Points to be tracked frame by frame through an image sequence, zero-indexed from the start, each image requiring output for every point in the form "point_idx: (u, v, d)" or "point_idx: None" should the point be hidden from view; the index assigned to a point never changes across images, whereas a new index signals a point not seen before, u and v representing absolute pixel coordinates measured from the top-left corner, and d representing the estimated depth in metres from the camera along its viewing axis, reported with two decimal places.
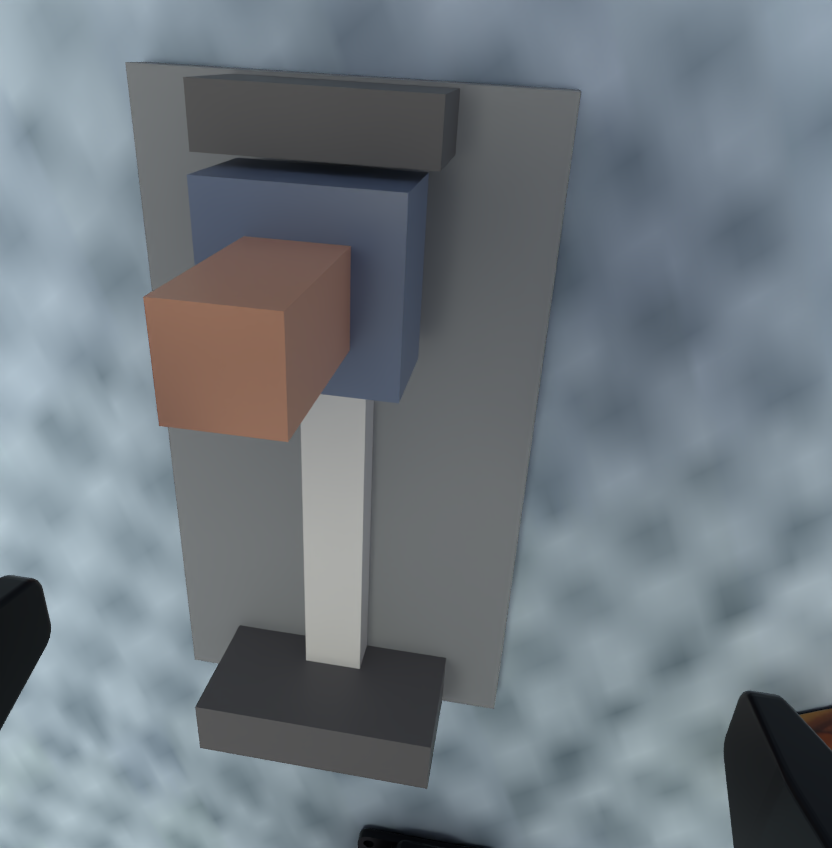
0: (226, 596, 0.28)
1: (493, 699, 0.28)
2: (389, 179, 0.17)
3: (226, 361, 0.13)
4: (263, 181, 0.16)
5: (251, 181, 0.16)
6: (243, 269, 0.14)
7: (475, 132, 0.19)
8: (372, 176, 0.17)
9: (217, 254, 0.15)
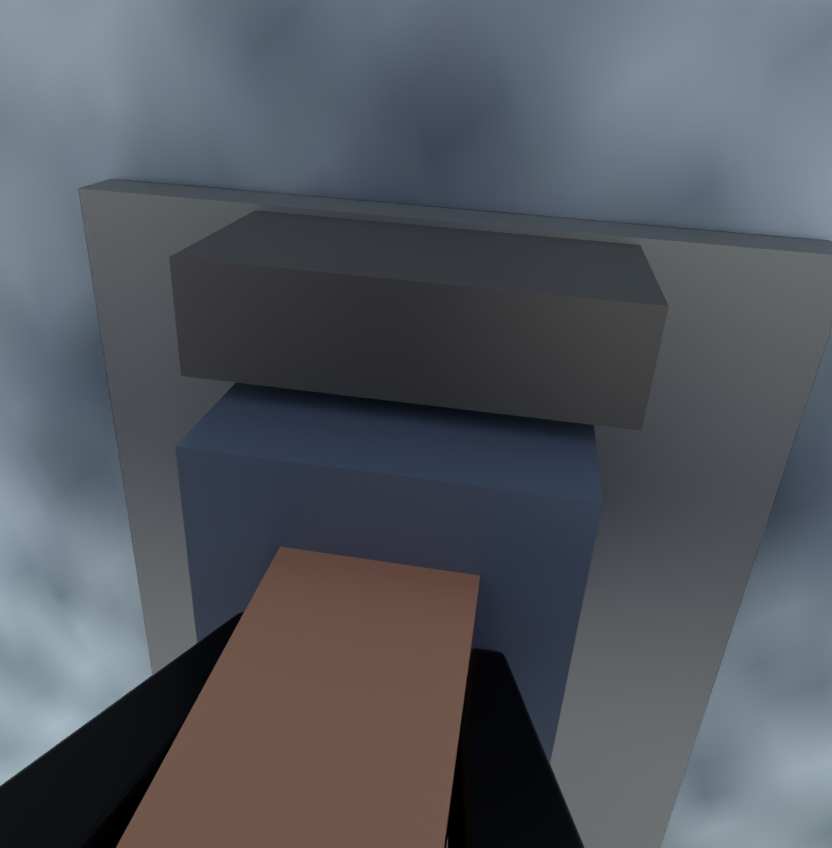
0: None
1: None
2: (539, 431, 0.10)
3: None
4: (320, 466, 0.09)
5: (297, 465, 0.09)
6: (292, 725, 0.07)
7: None
8: (506, 420, 0.10)
9: (234, 643, 0.08)
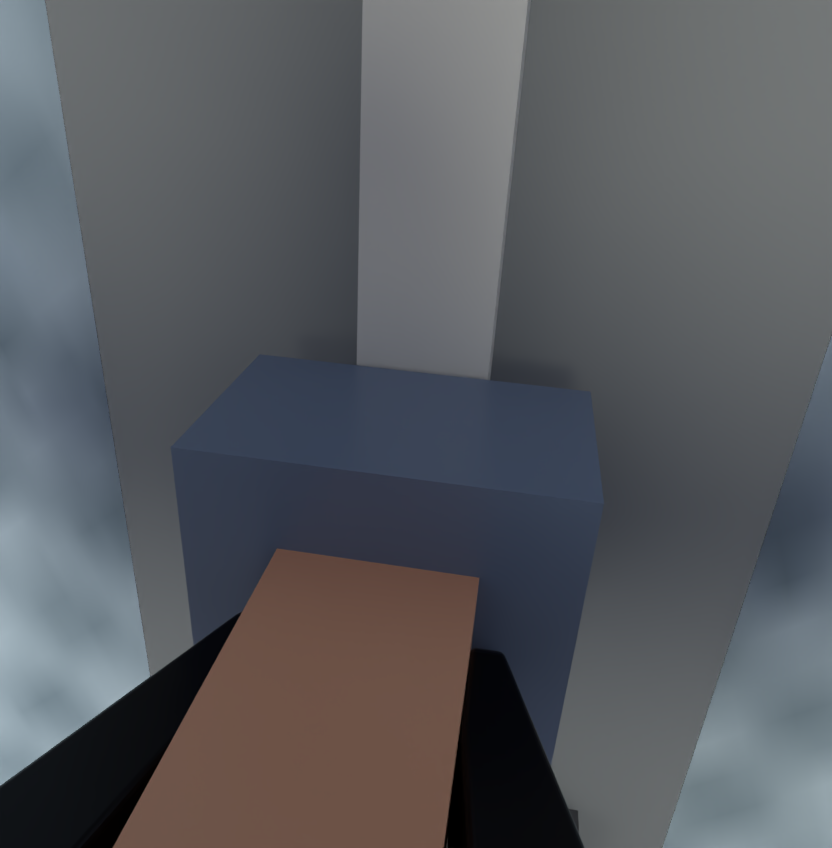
0: None
1: None
2: (539, 431, 0.09)
3: None
4: (317, 466, 0.08)
5: (294, 466, 0.08)
6: (288, 731, 0.07)
7: None
8: (505, 420, 0.10)
9: (230, 647, 0.08)
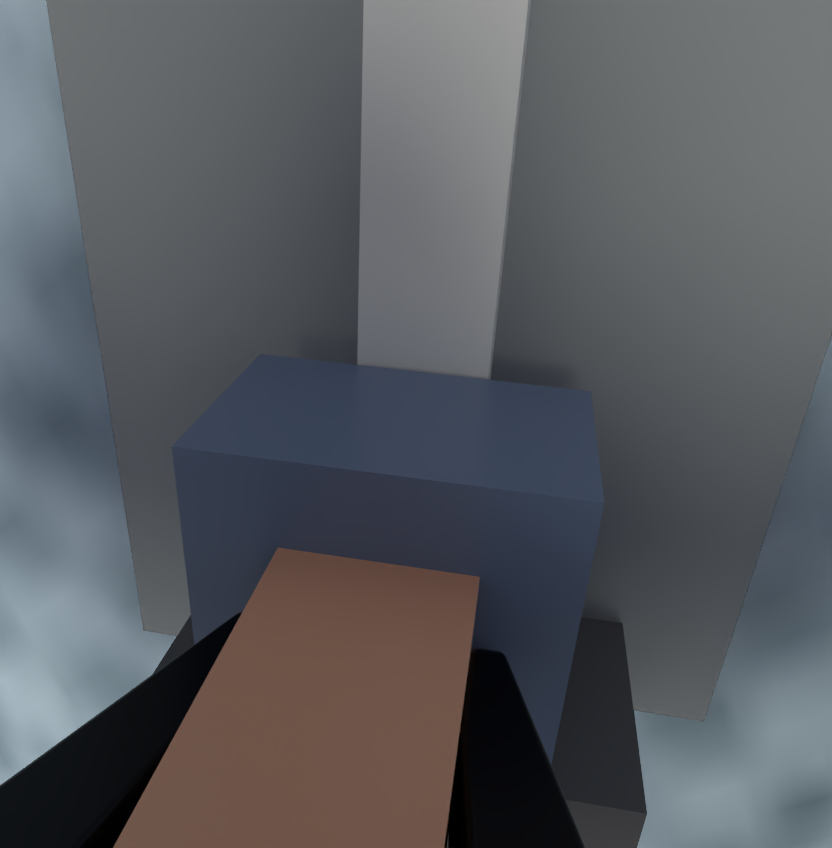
0: None
1: (705, 703, 0.15)
2: (539, 430, 0.10)
3: None
4: (318, 466, 0.08)
5: (295, 464, 0.08)
6: (288, 729, 0.07)
7: None
8: (506, 420, 0.10)
9: (231, 645, 0.08)
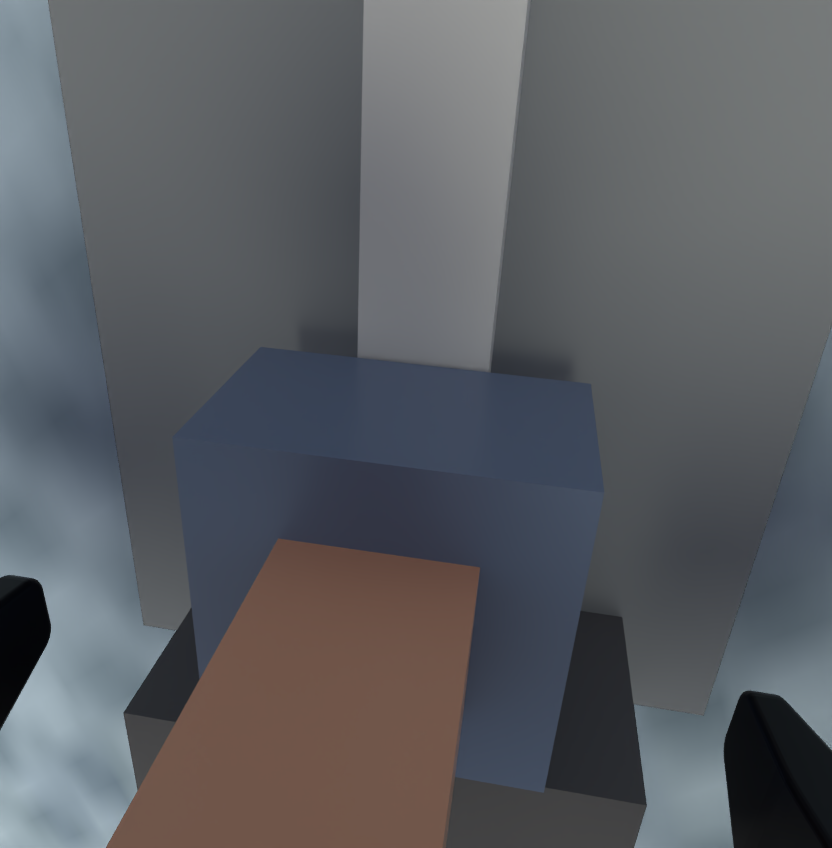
0: None
1: (705, 697, 0.15)
2: (539, 422, 0.10)
3: None
4: (318, 456, 0.08)
5: (295, 455, 0.08)
6: (290, 716, 0.07)
7: None
8: (506, 411, 0.10)
9: (232, 634, 0.08)
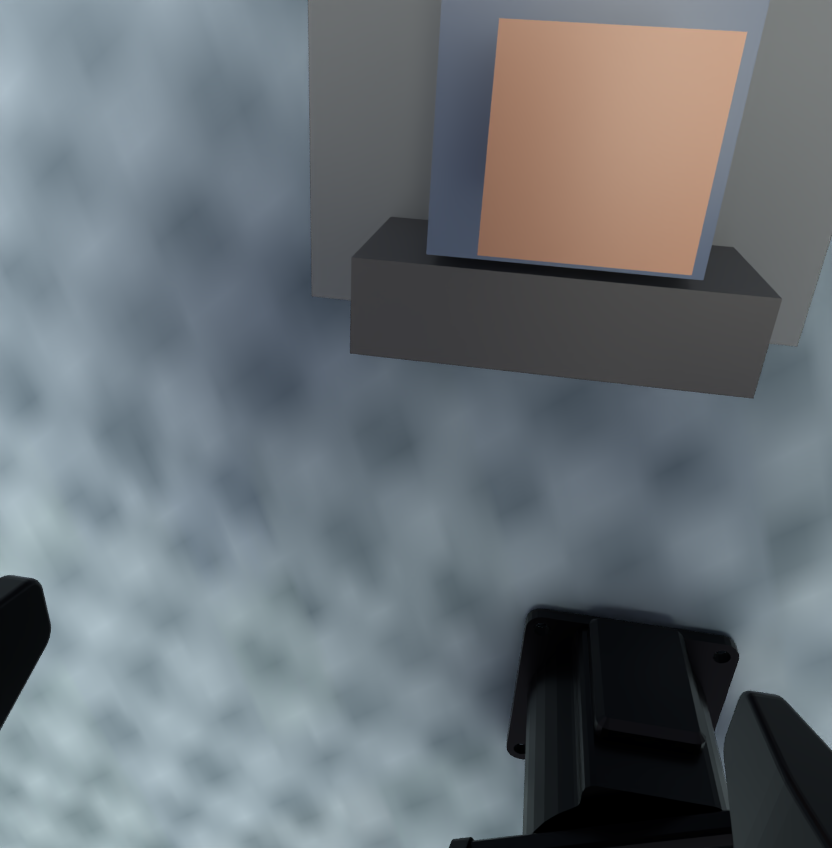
0: (374, 157, 0.17)
1: (800, 326, 0.17)
2: None
3: (619, 133, 0.08)
4: None
5: None
6: None
7: None
8: None
9: None
